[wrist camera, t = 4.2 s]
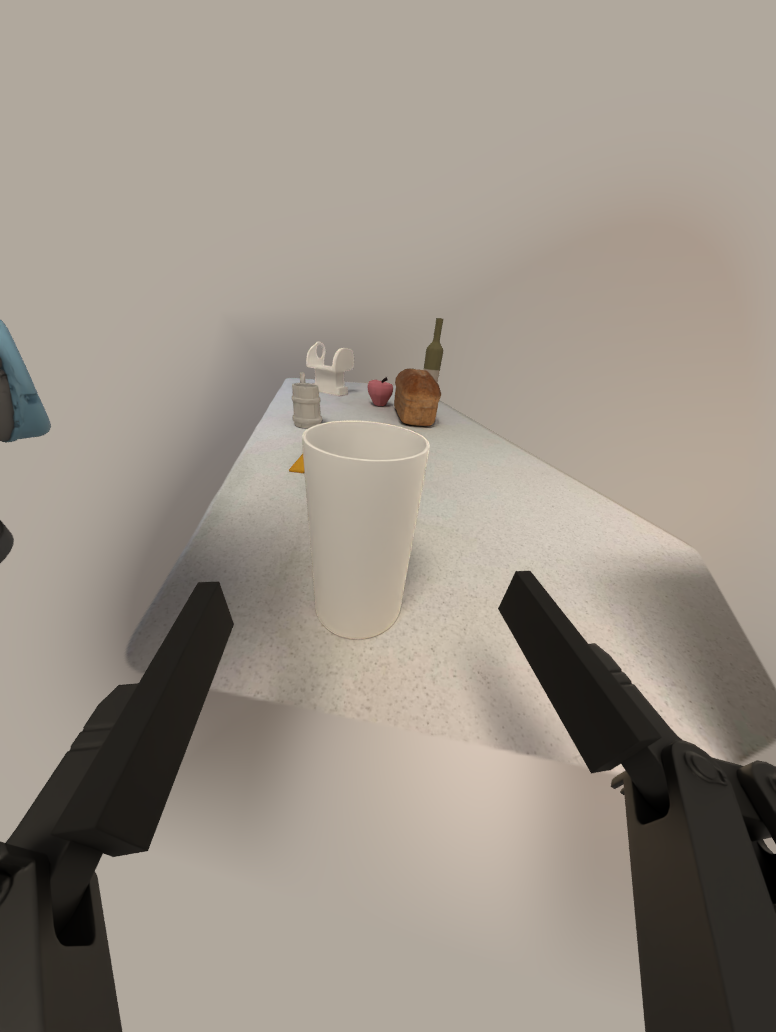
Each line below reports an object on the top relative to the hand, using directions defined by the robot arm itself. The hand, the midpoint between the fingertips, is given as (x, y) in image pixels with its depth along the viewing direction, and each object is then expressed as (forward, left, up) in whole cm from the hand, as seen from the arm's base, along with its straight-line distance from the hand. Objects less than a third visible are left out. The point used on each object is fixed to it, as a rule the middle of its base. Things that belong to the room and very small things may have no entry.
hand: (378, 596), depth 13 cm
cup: (-2, +9, -12) cm, 15 cm away
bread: (+6, +88, -12) cm, 89 cm away
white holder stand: (-28, +118, -12) cm, 122 cm away
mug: (-24, +68, -12) cm, 73 cm away
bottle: (+14, +123, -12) cm, 124 cm away
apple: (-6, +101, -12) cm, 102 cm away
